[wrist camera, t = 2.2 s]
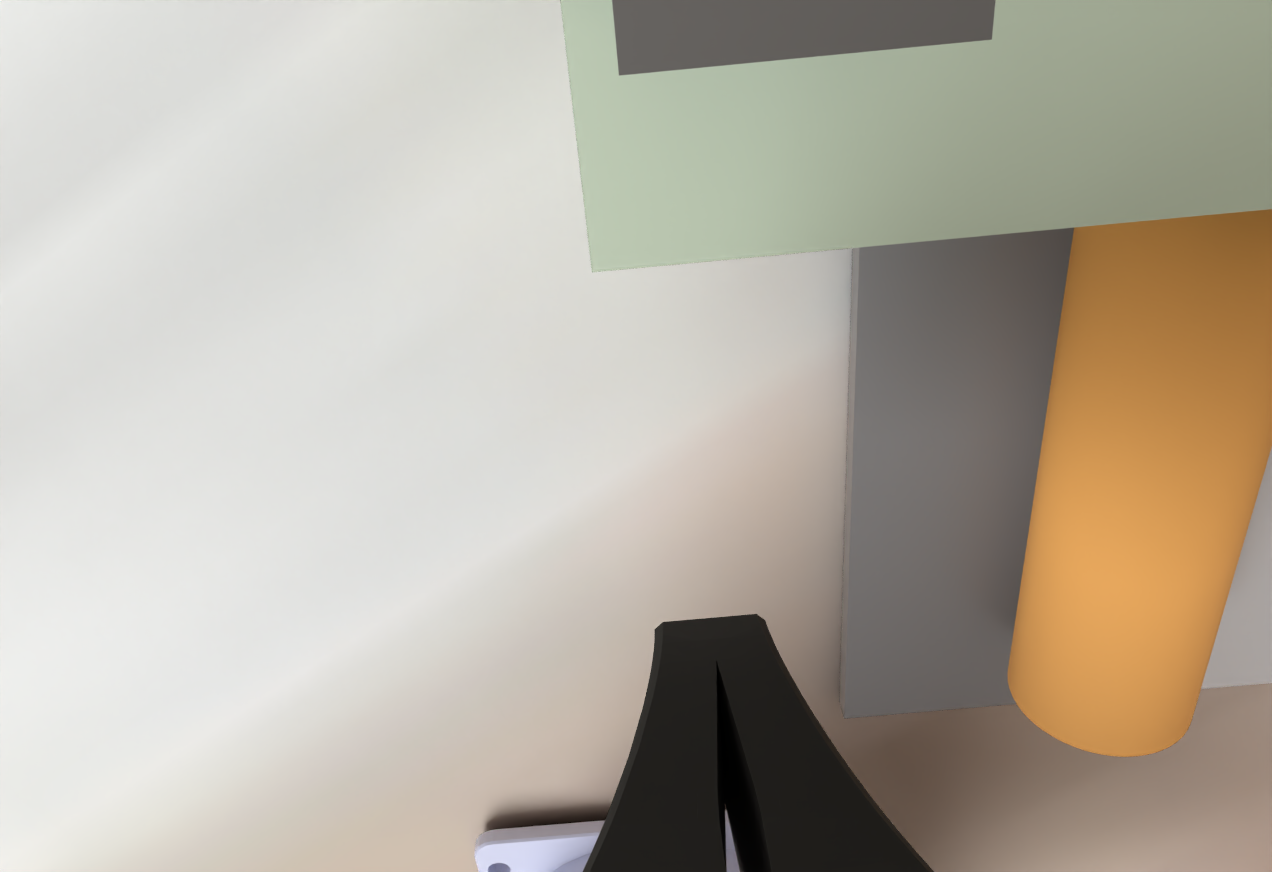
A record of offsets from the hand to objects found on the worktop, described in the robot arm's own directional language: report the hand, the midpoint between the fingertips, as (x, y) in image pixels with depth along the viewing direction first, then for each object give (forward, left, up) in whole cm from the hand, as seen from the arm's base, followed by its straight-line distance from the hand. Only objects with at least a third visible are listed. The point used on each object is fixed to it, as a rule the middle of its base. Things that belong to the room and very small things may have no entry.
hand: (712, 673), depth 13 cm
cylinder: (0, -7, -4) cm, 8 cm away
